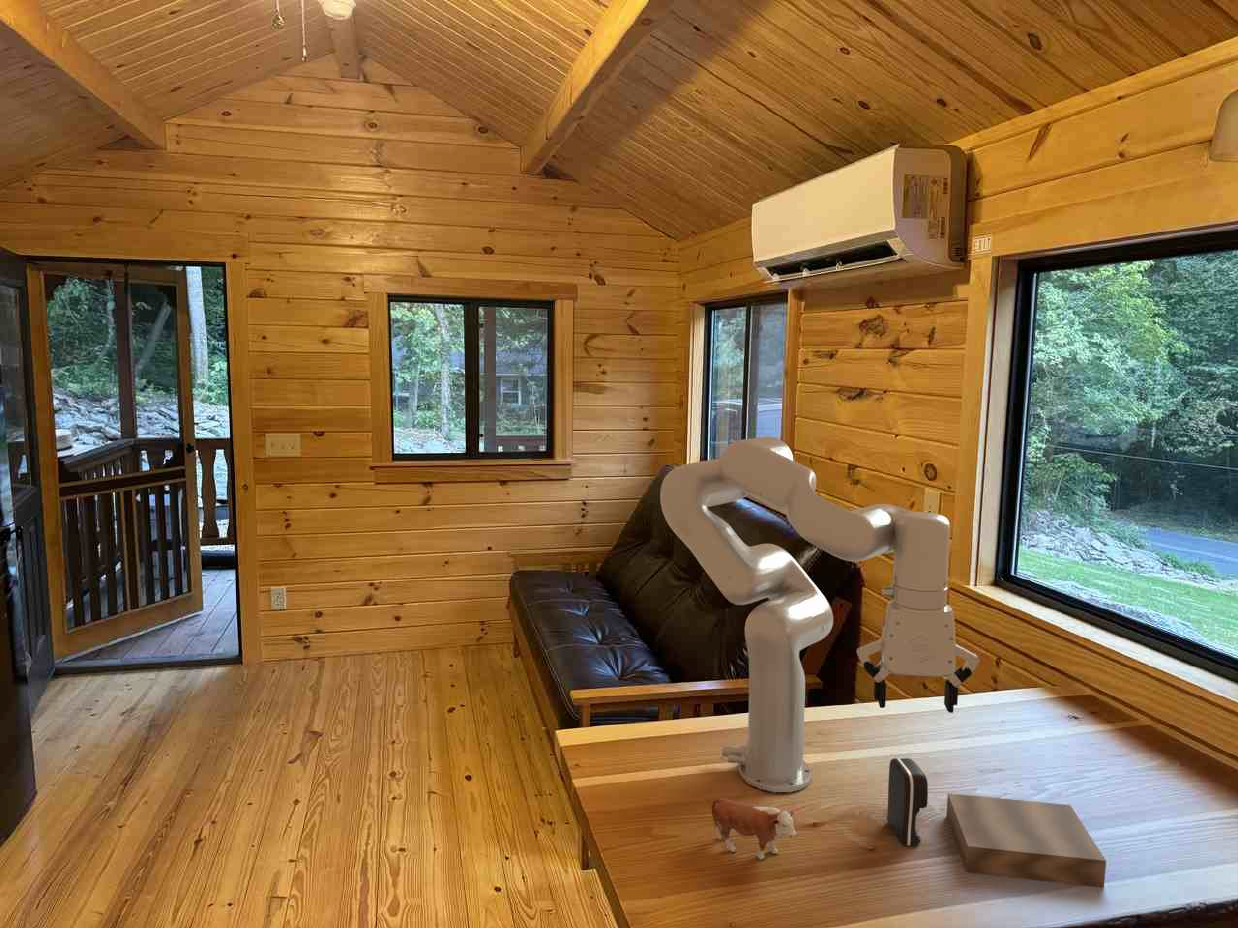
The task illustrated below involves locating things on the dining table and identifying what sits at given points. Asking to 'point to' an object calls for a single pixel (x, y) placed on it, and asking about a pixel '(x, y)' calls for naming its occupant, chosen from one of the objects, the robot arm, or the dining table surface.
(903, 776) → the battery charger
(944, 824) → the dining table surface
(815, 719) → the dining table surface
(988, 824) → the walnut base
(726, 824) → the bull figurine
